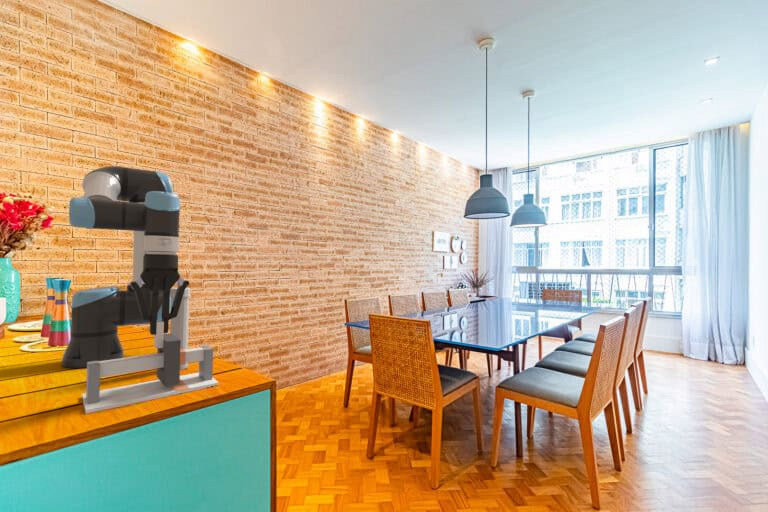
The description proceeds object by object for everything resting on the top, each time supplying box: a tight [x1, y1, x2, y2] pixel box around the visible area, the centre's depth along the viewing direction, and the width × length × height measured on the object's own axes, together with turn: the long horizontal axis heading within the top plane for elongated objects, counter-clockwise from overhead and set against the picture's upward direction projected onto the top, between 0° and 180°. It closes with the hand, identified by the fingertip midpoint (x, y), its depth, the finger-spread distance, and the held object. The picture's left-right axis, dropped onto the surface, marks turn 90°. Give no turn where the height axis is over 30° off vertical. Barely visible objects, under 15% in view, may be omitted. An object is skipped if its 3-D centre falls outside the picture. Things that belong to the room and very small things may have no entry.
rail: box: [81, 345, 220, 415], centre depth 89 cm, size 12×27×9 cm, turn 133°
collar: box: [156, 333, 181, 387], centre depth 91 cm, size 10×3×11 cm, turn 43°
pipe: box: [169, 287, 191, 371], centre depth 108 cm, size 6×6×30 cm
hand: (158, 346), depth 90 cm, fingers closed
